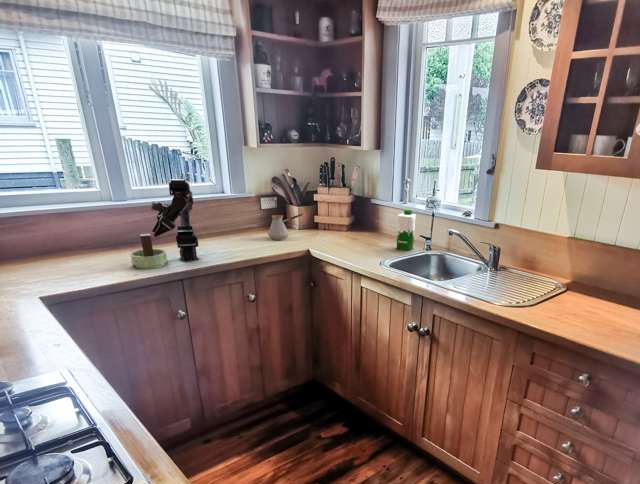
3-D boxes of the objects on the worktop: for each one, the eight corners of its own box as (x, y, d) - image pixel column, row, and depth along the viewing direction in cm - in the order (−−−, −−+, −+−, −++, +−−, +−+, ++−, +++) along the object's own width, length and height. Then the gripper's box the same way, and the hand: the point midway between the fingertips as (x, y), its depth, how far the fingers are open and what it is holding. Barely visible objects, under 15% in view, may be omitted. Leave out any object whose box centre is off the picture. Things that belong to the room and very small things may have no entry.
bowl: (157, 258, 219) (155, 247, 216) (174, 264, 211) (172, 252, 208) (126, 264, 208) (123, 252, 206) (142, 271, 200) (140, 258, 198)
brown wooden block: (154, 260, 211) (149, 233, 206) (155, 262, 208) (150, 235, 203) (144, 260, 209) (139, 234, 204) (145, 263, 206) (140, 236, 201)
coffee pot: (264, 240, 260) (263, 212, 254) (273, 236, 270) (271, 209, 264) (301, 243, 256) (300, 215, 250) (308, 238, 267) (307, 212, 260)
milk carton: (414, 247, 255) (417, 210, 247) (409, 251, 247) (412, 212, 239) (399, 245, 258) (401, 208, 249) (394, 249, 250) (396, 211, 242)
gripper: (158, 191, 208) (136, 218, 208) (162, 197, 193) (137, 225, 193) (180, 208, 214) (158, 234, 214) (185, 215, 199) (161, 243, 199)
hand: (153, 234), depth 205 cm, fingers open, 9 cm apart
